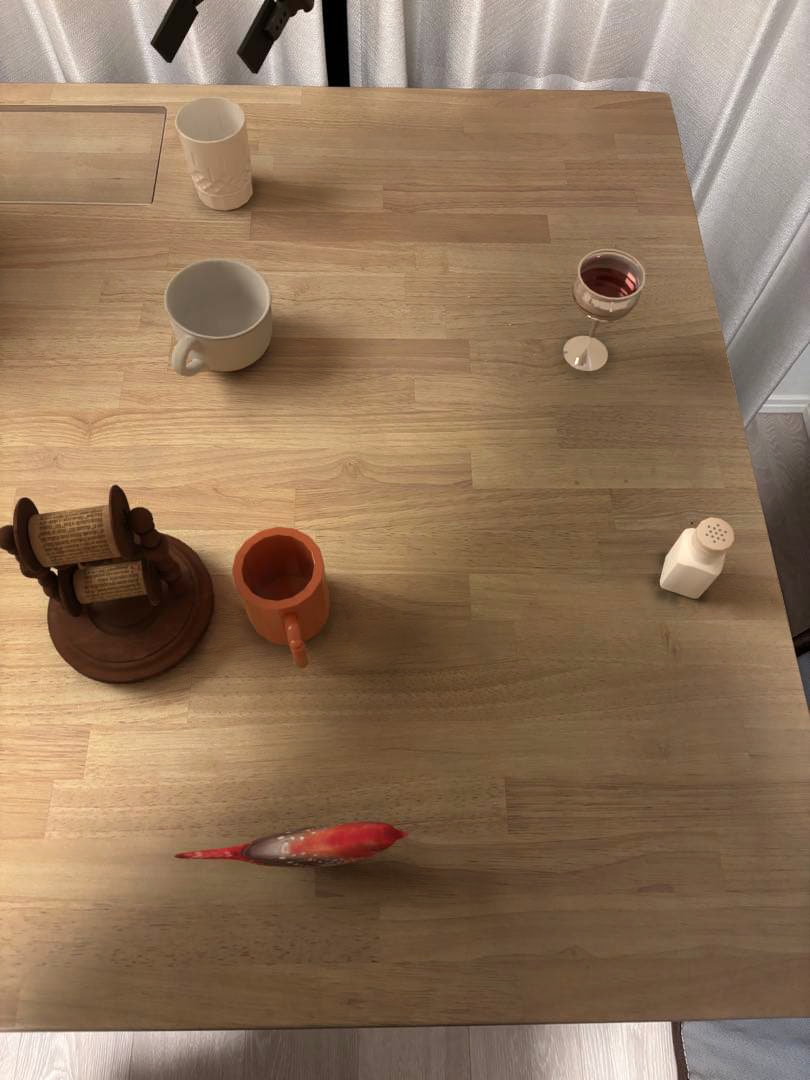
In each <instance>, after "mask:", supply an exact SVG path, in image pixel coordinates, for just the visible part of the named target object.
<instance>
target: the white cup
mask: <svg viewBox="0 0 810 1080" xmlns="http://www.w3.org/2000/svg"><path fill="white" fill-rule="evenodd" d="M174 125H175V129H176V132H177V135H178V138H179V141H180V144H181V148H182V151H183V155H184V158H185V161H186V164H187V167H188V170H189V173H190V176H191V178H192V181H193V183H194V186H195V191H196V193H197V197H198V198H199V199H200V201H201V202H202V204H203V205H204V206H206V207H208V208H210V209H212V210H215V211H231V210H235V209H239V208H240V207H242V206H244V205H245V204H246V203H248V202H249V200H250V199H251V197H252V195H253V193H254V189H253V178H252V171H253V170H252V169H253V168H252V161H251V160H252V158H251V150H250V144H249V143H250V142H249V134H248V127H247V118H246V112H245V110H244V108H243V107H242V106H241V105H240V104H239V103H237V102H236V101H235V100H233V99H231V98H227V97H223V96H215V95H214V96H213V95H212V96H202V97H198V98H195V99H192V100H190V101H188V102H187V103H186V104H184V105H182V106H181V108H180V109H178V112H177V113H176V115H175V118H174Z"/></svg>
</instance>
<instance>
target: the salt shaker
mask: <svg viewBox="0 0 810 1080" xmlns="http://www.w3.org/2000/svg"><path fill="white" fill-rule="evenodd" d="M734 542H735V532H734V529H733V528H732V526H731V525H730V524H729V523H728V522H727V521H725V520H723V519H721V518H720V517H708V518H705V519H703V520H701V521H700V523H698V525H697V527H696V528H694V527H688V528H685V529H684V530H683V531H682V533H681V534H680V535H679V537H678V539H677V540H676V541H675V543H674V544H673V546H672V547H671V548H670V550H668V553H667V554H666V555H665V559H664V562H663V566H662V571H661V575H660V579H659V585H660V588H661V589H663V590H665V591H669V592H671V593H675V594H677V595H681V596H684V597H686V598H690V599H695V600H696V599H699V598H700V597H701V596H702V595H703V594H704V592H705V591H706V590H707V589H708V588H709V587H710V586H711V584H713V583H714V581H715V580H716V579H717V578H718V577H719V575H720V574H721V573H722V570H723V568H724V567H723V566H724V563H725V559H726V556H727V555H726V554H727V552H728V550H729V549H730V548H731V547H732V545H733V543H734Z"/></svg>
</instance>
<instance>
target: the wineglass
mask: <svg viewBox="0 0 810 1080" xmlns="http://www.w3.org/2000/svg"><path fill="white" fill-rule="evenodd" d="M645 282H646V271H645V269H644V267H643V266H642V264H641V262H640V261H639V260H637V258H635V256H632V255H631V254H630V253H627V252H625V251H622V250H618V249H615V248H601V249H597V250H592V251H591V252H589V253H587V254H586V255H584V256H583V258H582V259H581V260H580V261H579V264H578V266H577V272H576V274H575V277H574V280H573V282H572V297H573V301H574V304H575V305H576V307H577V309H578V310H579V311H580V312H581V313H582V314H583V315H585V316H586V317H588V318H590V319H591V320H592V321H591V326H590V330H589V333H588V335H578V336H574V337H572V338H570V339H568V340H567V342H565V344H564V346H563V349H562V355H563V357H564V359H565V362H567V363H568V365H569V366H571V367H572V368H574V369H576V370H579V371H582V372H593V371H598V370H599V369H601V368H603V367H604V365H606V363H607V361H608V358H609V353H608V349H607V347H606V346H605V345H604V344H603V342H601V341H600V340H599V339H597V338H595V334H596V331H597V329H598V328H599V327H598V326H599V324H600V322H609V323H611V322H614V321H619V320H621V319H623V318H625V317H627V315H629V314H630V313H631V312H632V311H633V310H634V308H635V307H636V306H637V304H638V303H639V300H640V297H641V295H642V289H643V288H644V286H645Z"/></svg>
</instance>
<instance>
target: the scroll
mask: <svg viewBox="0 0 810 1080" xmlns="http://www.w3.org/2000/svg"><path fill="white" fill-rule="evenodd" d="M0 549H1V550H3V551H6V552H7V553H8V554H9V555H12V556H14V558H15V560H16V561H17V563H18V565H19V570H20V573H21V574H22V576H23V577H25V578H27V579H34V580H37V583H38V584H39V586H40V587H42V591H43V593H44V595H45V596H46V597H48V598H49V599H48V604H47V611H46V612H47V613H46V621H47V629H48V634H49V637H50V640H51V642H52V644H53V647H54V648H55V650H56V651H57V653H58V654H59V656H60V657H61V658H62V659H63V660H64V662H66V663H67V664H68V665H69V666H70V667H71V668H72V669H73V670H74V671H76V672H77V673H79V674H80V675H82V676H83V677H85V678H88V679H90V680H92V681H95V682H97V683H102V684H106V685H111V686H112V685H113V686H129V685H137V684H142V683H147V682H150V681H153V680H156V679H157V678H161V677H162V676H165V675H167V674H168V673H170V672H172V671H173V670H176V668H178V667H179V666H180V665H182V664H183V663H184V662H185V661H186V660H188V659H189V658H190V656H192V655H194V654H195V652H196V650H197V649H198V647H199V646H200V645H201V643H202V642H203V640H204V639H205V637H206V635H207V633H208V631H209V628H210V626H211V623H212V620H213V615H214V610H215V601H216V600H215V588H214V584H213V580H212V578H211V575H210V572H209V570H208V569H207V566H206V565H205V563H204V561H203V559H202V558H201V556H199V554H198V553H197V552H196V551H195V550H194V549H193V548H192V547H191V546H190V545H188V544H187V543H185V542H184V541H182V540H180V539H179V538H177V537H175V536H173V535H170V534H167V533H163V532H160V531H158V530H157V528H156V524H155V522H154V516H153V513H152V512H151V511H150V510H149V509H148V508H146V507H143V506H136V507H133V508H131V507H130V503H129V500H128V498H127V495H126V493H125V491H124V490H123V488H121V487H120V486H119V485H118V484H113V485H112V486H111V487H110V488H109V492H108V504H103V505H96V506H95V505H94V506H89V507H80V508H74V509H66V510H60V511H59V510H58V511H52V512H44V513H43V512H42V513H40V512H39V510H38V507H37V506H36V504H35V503H34V501H32V499H31V498H29V497H26V496H24V497H20V498H19V499H18V500H17V502H16V504H15V506H14V509H13V516H12V524H6V525H3V526H1V527H0ZM52 569H55V570H57V571H56V572H57V573H56V572H55V571H54V570H52Z"/></svg>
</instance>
